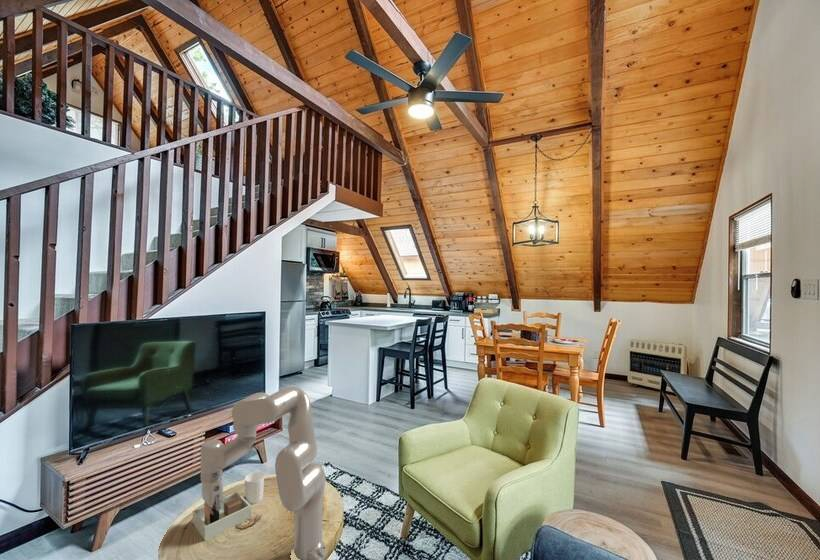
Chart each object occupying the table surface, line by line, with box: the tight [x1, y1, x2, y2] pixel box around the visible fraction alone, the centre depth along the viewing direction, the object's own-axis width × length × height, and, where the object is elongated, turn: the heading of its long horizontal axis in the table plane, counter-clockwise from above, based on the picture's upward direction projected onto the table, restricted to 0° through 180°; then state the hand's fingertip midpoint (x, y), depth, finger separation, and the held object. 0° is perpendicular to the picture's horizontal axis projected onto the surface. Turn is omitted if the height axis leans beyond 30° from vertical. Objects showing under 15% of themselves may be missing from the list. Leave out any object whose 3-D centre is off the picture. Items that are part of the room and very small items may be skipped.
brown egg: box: [203, 503, 216, 525], centre depth 142 cm, size 5×5×7 cm
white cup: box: [244, 471, 265, 505], centre depth 159 cm, size 8×8×10 cm
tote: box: [192, 491, 252, 542], centre depth 145 cm, size 13×17×5 cm
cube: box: [224, 497, 242, 516], centre depth 148 cm, size 5×5×5 cm
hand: (211, 518), depth 142 cm, fingers closed on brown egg, 4 cm apart
